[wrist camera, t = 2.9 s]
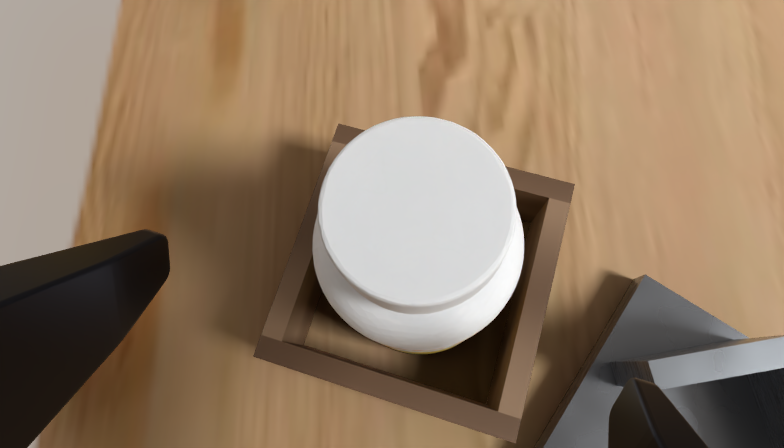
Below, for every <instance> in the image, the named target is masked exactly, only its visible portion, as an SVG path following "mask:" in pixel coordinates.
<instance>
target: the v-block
mask: <svg viewBox="0 0 784 448" xmlns="http://www.w3.org/2000/svg"><path fill="white" fill-rule="evenodd" d="M631 378H638V379H642V380H645V381H648V382H651V383H654V384H656V385H657V386H658V387H659V388H660V389H661V390H662V391H663V392H664V394H665V395H666V396H667V397H668V398H669V400H670V401H671V402H672V403H673V405H674V406H675V407H676V408H677V409H678V411H679V412H680V413H681V414H682V416H683V417H684V418H685V419H686V420H687V422H688V423H689V424H690V425H691V426H692V428H693V429H694V430H695V431H696V433H697V434H698V435H699V436H700V437H701V439H702V440H703V441H704V442H705V444H706V445H707V446H708V447H709V448H784V335H783V336H771V337H759V338H748V337H747V336H745V335H743V334H742V333H740V332H739V331H737V330H735V329H734V328H732V327H730V326H729V325H727V324H725V323H724V322H722V321H721V320H719V319H717V318H716V317H714V316H712V315H711V314H709V313H707V312H706V311H704V310H702V309H701V308H699V307H698V306H696V305H694V304H693V303H691V302H689V301H688V300H686V299H684V298H683V297H681V296H680V295H678V294H676V293H675V292H673V291H671V290H670V289H668V288H666V287H665V286H663V285H662V284H660V283H658V282H657V281H655V280H653V279H652V278H650V277H648V276H647V275H643V276H640V277H638V278H636V279H634V280H633V282H632V283H631V285H630V287H629V288H628V290H627V292H626V293H625V295H624V297H623V298H622V300H621V302H620V303H619V305H618V307H617V309H616V310H615V312H614V314H613V315H612V317H611V319H610V320H609V322H608V324H607V325H606V327H605V329H604V330H603V332H602V334H601V336H600V337H599V339H598V341H597V342H596V344H595V346H594V347H593V349H592V351H591V352H590V354H589V356H588V358H587V359H586V361H585V363H584V364H583V366H582V368H581V369H580V371H579V373H578V374H577V376H576V378H575V379H574V381H573V383H572V385H571V386H570V388H569V390H568V391H567V393H566V395H565V396H564V398H563V400H562V401H561V403H560V405H559V406H558V408H557V410H556V412H555V413H554V415H553V417H552V418H551V420H550V422H549V423H548V425H547V427H546V428H545V430H544V432H543V434H542V435H541V437H540V439H539V440H538V442H537V444H536V445H535V447H534V448H608V426H609V415H610V411H611V408H612V406H613V404H614V403H615V401H616V399H617V398H618V396H619V394H620V393H621V391H622V389H623V388H624V386H625V384H626V383H627V381H628V380H629V379H631Z"/></svg>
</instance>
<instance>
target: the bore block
mask: <svg viewBox="0 0 784 448" xmlns="http://www.w3.org/2000/svg"><path fill="white" fill-rule="evenodd" d="M364 131H365V130H361V129H357V128H353V127H350V126H346V125H342V124H338V126H337V129H336V132H335V135H334V137H333V140H332V143H331V145H330V148H329V151H328V154H327V156H326V159H325V162H324V165H323V167H322V170H321V173H320V176H319V178H318V181H317V184H316V186H315V189H314V192H313V195H312V197H311V200H310V203H309V206H308V208H307V211H306V214H305V216H304V219H303V222H302V225H301V227H300V230H299V233H298V236H297V238H296V241H295V244H294V247H293V249H292V252H291V255H290V257H289V260H288V263H287V266H286V268H285V271H284V274H283V277H282V279H281V282H280V285H279V287H278V290H277V293H276V296H275V298H274V301H273V304H272V307H271V309H270V312H269V315H268V317H267V320H266V323H265V326H264V328H263V331H262V334H261V337H260V339H259V342H258V345H257V348H256V350H255V353H254V357H257V358H260V359H263V360H266V361H269V362H272V363H275V364H278V365H281V366H284V367H287V368H290V369H293V370H296V371H299V372H302V373H305V374H308V375H311V376H314V377H317V378H320V379H323V380H326V381H329V382H332V383H335V384H338V385H341V386H344V387H347V388H350V389H353V390H356V391H359V392H362V393H365V394H368V395H371V396H374V397H377V398H380V399H383V400H386V401H389V402H392V403H395V404H398V405H401V406H404V407H407V408H410V409H413V410H416V411H419V412H422V413H425V414H428V415H431V416H434V417H437V418H440V419H443V420H446V421H449V422H452V423H455V424H458V425H461V426H464V427H467V428H470V429H473V430H476V431H479V432H482V433H485V434H488V435H491V436H494V437H497V438H500V439H503V440H506V441H509V442H512V443H515V444H516V440H517V436H518V431H519V427H520V423H521V418H522V414H523V409H524V405H525V401H526V396H527V392H528V387H529V383H530V379H531V374H532V370H533V365H534V361H535V357H536V352H537V348H538V343H539V339H540V335H541V330H542V326H543V322H544V317H545V313H546V308H547V304H548V300H549V295H550V291H551V286H552V282H553V278H554V273H555V269H556V264H557V260H558V256H559V251H560V247H561V242H562V238H563V234H564V229H565V225H566V220H567V216H568V212H569V207H570V203H571V199H572V194H573V190H574V185H575V184H572V183H568V182H564V181H560V180H556V179H552V178H548V177H544V176H541V175H537V174H533V173H529V172H525V171H521V170H517V169H513V168H509V167H506V166H505V167H506V169H507V171H508V173H509V176H510V178H511V181H512V183H513V187H514V191H515V196H516V207H517V209H518V212H519V215H520V218H521V220H523V221H526V222H530V223H531V224H530V228H529V232H528V236H527V240H526V244H525V248H524V259H523V265H522V270H521V274H520V277H519V280H518V282H517V285H516V288H515V289H514V293H513V297H512V301H511V305H510V309H509V313H508V317H507V321H506V325H505V329H504V333H503V337H502V341H501V346H500V350H499V354H498V358H497V362H496V366H495V370H494V374H493V378H492V382H491V386H490V390H489V394H488V398H487V402H486V404H484V403H481V402H478V401H474V400H471V399H468V398H465V397H462V396H459V395H456V394H453V393H450V392H447V391H444V390H440V389H437V388H434V387H431V386H428V385H425V384H422V383H419V382H416V381H413V380H410V379H407V378H403V377H400V376H397V375H394V374H391V373H388V372H385V371H382V370H379V369H376V368H373V367H370V366H366V365H363V364H360V363H357V362H354V361H351V360H348V359H345V358H342V357H339V356H336V355H333V354H329V353H326V352H323V351H320V350H317V349H314V348H311V347H308V346H305V345H303V344H304V341H305V339H306V336H307V333H308V330H309V327H310V324H311V321H312V318H313V315H314V312H315V309H316V307H317V304H318V301H319V298H320V295H321V292H322V288H321V286H320V284H319V281H318V278H317V275H316V271H315V267H314V260H313V251H312V248H313V232H314V226H315V222H316V218H317V214H318V200H319V194H320V190H321V186H322V183H323V180H324V178H325V176H326V174H327V171H328V169H329V167H330V166H331V164H332V162H333V161H334V159H335V158H336V157H337V155H338V154H339V153H340V152H341V150H342V149H343V148H344V147H345V146H346V145H347V144H348V143H349V142H350V141H351V140H353V139H354V138H355V137H356V136H358V135H359V134H361V133H362V132H364Z"/></svg>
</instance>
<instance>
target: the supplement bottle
mask: <svg viewBox="0 0 784 448" xmlns="http://www.w3.org/2000/svg"><path fill="white" fill-rule="evenodd" d="M312 251H313V260H314V267H315V271H316V275H317V278H318V281H319V284H320V286H321V288H322V291H323V293H324V294H325V296H326V298H327V300H328V301H329V303H330V304H331V306H332V307H333V308H334V310H335V311H336V312H337V313H338V315H339V316H340V317H341V318H342V319H343V320H344V321H345V322H346V323H348V324H349V325H350V326H351V327H352V328H354V329H355V330H356V331H358V332H359V333H361V334H362V335H364V336H365V337H367V338H369V339H371V340H373V341H375V342H378V343H380V344H382V345H384V346H386V347H388V348H391V349H393V350H396V351H399V352H404V353H409V354H431V353H437V352H441V351H444V350H447V349H450V348H452V347H454V346H456V345H458V344H459V343H461V342H463V341H465V340H466V339H468V338H469V337H471V336H473V335H474V334H476V333H478V332H479V331H480V330H482V329H483V328H484V327H486V326H487V325H488V324H489V323H490V322H491V321H493V320H494V319H495V318H496V316H497V315H498V314H499V313H500V312H501V310H502V309H503V308H504V306H505V305H506V303H507V302H508V300H509V299H510V297H511V295H512V293H513V291H514V289H515V288H516V285H517V282H518V280H519V277H520V274H521V270H522V265H523V259H524V233H523V227H522V222H521V218H520V215H519V212H518V209H517V207H516V196H515V191H514V187H513V183H512V181H511V178H510V176H509V173H508V171H507V169H506V167H505V165H504V163H503V162H502V160H501V159H500V157H499V156H498V155H497V154H496V152H495V151H494V150H493V149H492V148H491V147H490V146H489V145H488V144H487V143H486V142H485V141H484V140H483V139H482V138H480V137H479V136H478V135H477V134H475V133H473V132H472V131H470V130H469V129H467V128H465V127H463V126H460V125H458V124H456V123H453V122H450V121H447V120H443V119H439V118H434V117H426V116H413V117H401V118H397V119H392V120H388V121H385V122H382V123H380V124H377V125H375V126H373V127H371V128H369V129H367V130H365V131H364V132H362V133H361V134H359V135H358V136H356V137H355V138H354V139H353V140H351V141H350V142H349V143H348V144H347V145H346V146H345V147H344V148H343V149H342V150H341V152H340V153H339V154H338V155H337V157H336V158H335V159H334V161H333V162H332V164H331V166H330V167H329V169H328V171H327V174H326V176H325V178H324V180H323V183H322V186H321V190H320V194H319V200H318V214H317V218H316V222H315V226H314V232H313V248H312Z"/></svg>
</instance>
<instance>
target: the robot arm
mask: <svg viewBox="0 0 784 448" xmlns="http://www.w3.org/2000/svg"><path fill="white" fill-rule="evenodd" d="M169 272H170V260H169V248H168V239H167V238H166V236H165V235H163V234H161V233H158V232H155V231H151V230H147V229H144V230H140V231H136V232H132V233H128V234H124V235H120V236H116V237H112V238H108V239H105V240H101V241H97V242H93V243H89V244H85V245H81V246H77V247H73V248H69V249H65V250H62V251H57V252H54V253H50V254H46V255H42V256H38V257H34V258H31V259H26V260H22V261H18V262H14V263H10V264H7V265H3V266H0V448H27V447H28V446H29V445H30V444H31V443H32V442H33V441H34V440H35V438H36V437H37V436H38V435H39V434H40V433H41V432H42V431H43V429H44V428H45V427H46V426H47V425H48V424H49V423H50V422H51V420H52V419H53V418H54V417H55V416H56V415H57V414H58V413H59V411H60V410H61V409H62V408H63V407H64V406H65V405H66V403H67V402H68V401H69V400H70V399H71V398H72V397H73V396H74V394H75V393H76V392H77V391H78V390H79V389H80V388H81V387H82V385H83V384H84V383H85V382H86V381H87V380H88V379H89V378H90V376H91V375H92V374H93V373H94V372H95V371H96V370H97V369H98V367H99V366H100V365H101V364H102V363H103V362H104V361H105V360H106V358H107V357H108V356H109V355H110V354H111V353H112V352H113V351H114V349H115V348H116V347H117V346H118V345H119V344H120V342H121V341H122V340H123V339H124V337H125V336H126V335H127V334H128V332H129V331H130V330H131V328H132V327H133V325H134V324H135V323H136V321H137V320H138V319H139V317H140V316H141V314H142V313H143V312H144V310H145V309H146V307H147V306H148V305H149V303H150V302H151V300H152V299H153V298H154V296H155V295H156V293H157V292H158V291H159V289H160V288H161V287H162V285H163V284H164V282H165V281H166V279H167V277H168V275H169ZM608 448H709V447H708V446H707V445H706V444H705V442H704V441H703V440H702V439H701V437H700V436H699V435H698V434H697V433H696V431H695V430H694V429H693V428H692V426H691V425H690V424H689V423H688V422H687V420H686V419H685V418H684V417H683V416H682V414H681V413H680V412H679V411H678V409H677V408H676V407H675V406H674V405H673V403H672V402H671V401H670V400H669V398H668V397H667V396H666V395H665V394H664V392H663V391H662V390H661V389H660V388H659V387H658V386H657V385H656V384H654V383H651V382H648V381H645V380H642V379H638V378H631V379H629V380H628V381H627V383H626V384H625V386H624V388H623V389H622V391H621V393H620V394H619V396H618V398H617V399H616V401H615V403H614V404H613V406H612V408H611V411H610V415H609V426H608Z"/></svg>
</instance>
